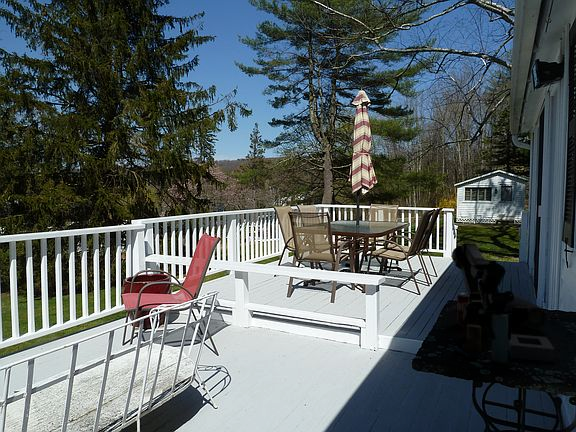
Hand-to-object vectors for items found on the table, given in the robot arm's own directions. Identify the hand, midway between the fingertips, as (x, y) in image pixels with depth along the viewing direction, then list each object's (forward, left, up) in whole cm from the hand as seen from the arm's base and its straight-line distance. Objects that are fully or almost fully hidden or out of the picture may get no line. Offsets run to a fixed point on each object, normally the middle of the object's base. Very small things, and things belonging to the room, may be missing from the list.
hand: (501, 339), depth 136 cm
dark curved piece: (+12, +46, -7) cm, 48 cm away
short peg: (-7, +8, -7) cm, 13 cm away
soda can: (-8, +37, -7) cm, 39 cm away
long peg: (0, +1, -7) cm, 7 cm away
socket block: (+9, +11, -7) cm, 16 cm away
